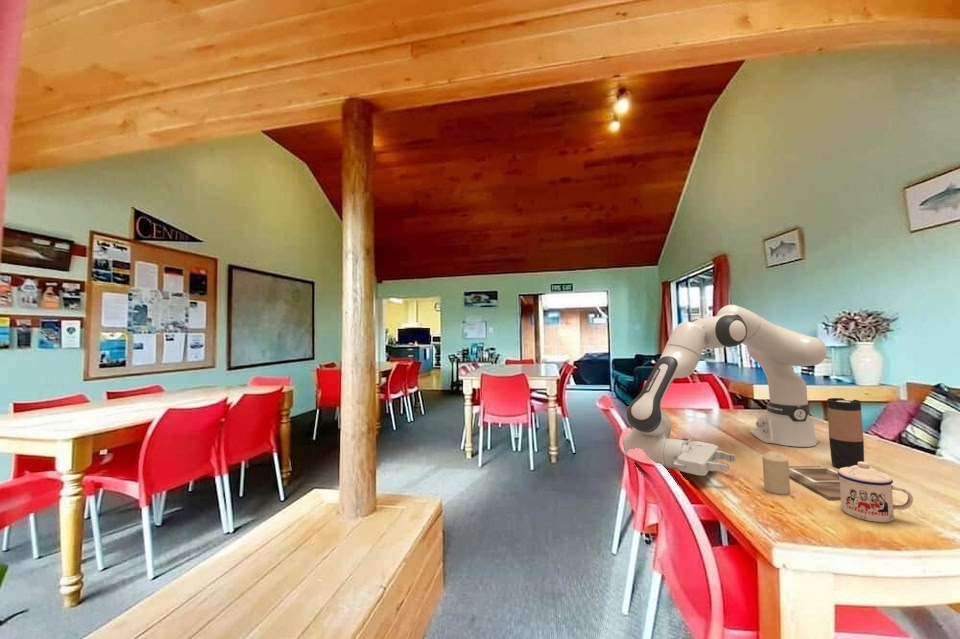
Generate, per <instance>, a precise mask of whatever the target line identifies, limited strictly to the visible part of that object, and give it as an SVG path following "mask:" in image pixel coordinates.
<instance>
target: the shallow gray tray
mask: <svg viewBox="0 0 960 639" xmlns="http://www.w3.org/2000/svg"><path fill="white" fill-rule="evenodd" d="M789 480H792V481H794V482H795V483H798V484H800V485H801V486H803V487H805V488H806V489H808V490H810V491H812V492H813V493H815V494H817V495H819V496H821V497H823V498H824V499H826V500H828V501H841V494H840V479H839V475H838V471H836V470H834V469H832V468H830V467H828V466H826V467H825V466H824V467H823V466H821V465H800V466H799V465H797V466H796V465H795V466H792V465H791V466H789Z"/></svg>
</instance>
